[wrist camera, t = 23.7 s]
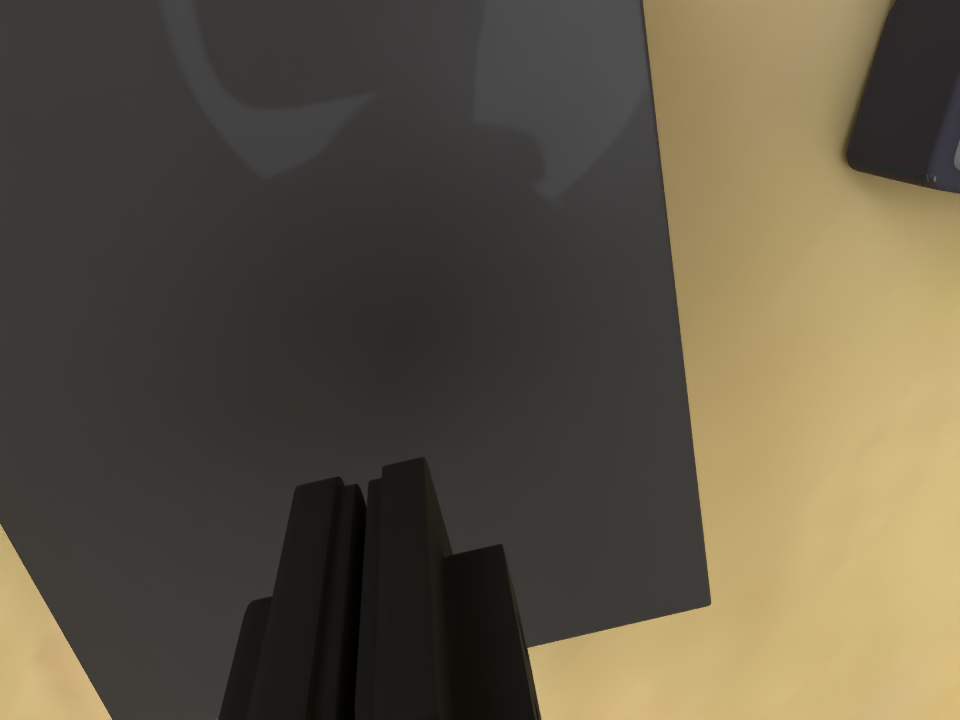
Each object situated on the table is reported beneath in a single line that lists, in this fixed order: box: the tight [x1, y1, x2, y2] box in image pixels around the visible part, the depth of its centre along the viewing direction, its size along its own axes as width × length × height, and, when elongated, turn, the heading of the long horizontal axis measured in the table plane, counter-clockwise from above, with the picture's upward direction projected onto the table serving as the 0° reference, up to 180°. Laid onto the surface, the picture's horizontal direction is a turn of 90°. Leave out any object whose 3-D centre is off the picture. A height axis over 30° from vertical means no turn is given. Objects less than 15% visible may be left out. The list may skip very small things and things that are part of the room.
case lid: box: [0, 0, 711, 720], centre depth 13 cm, size 16×13×1 cm
